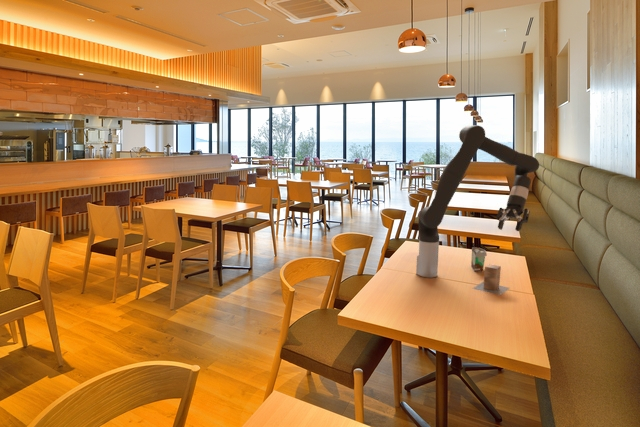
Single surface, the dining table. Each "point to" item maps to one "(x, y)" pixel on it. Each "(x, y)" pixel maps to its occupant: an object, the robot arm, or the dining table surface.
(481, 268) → the food container
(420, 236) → the robot arm
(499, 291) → the tile
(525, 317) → the dining table surface
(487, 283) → the walnut block
